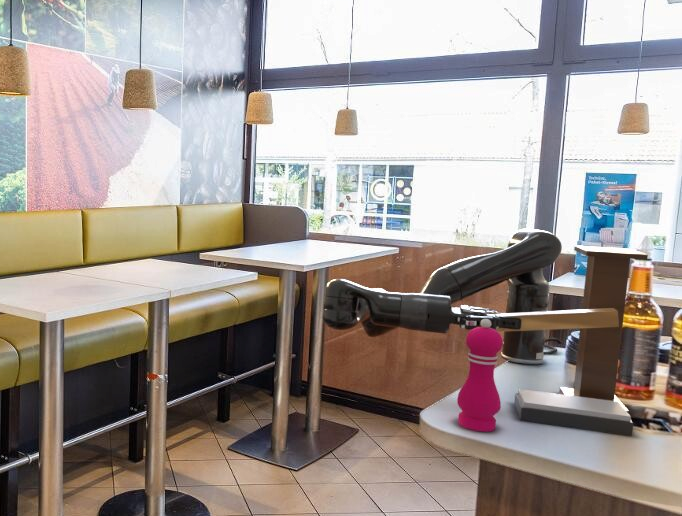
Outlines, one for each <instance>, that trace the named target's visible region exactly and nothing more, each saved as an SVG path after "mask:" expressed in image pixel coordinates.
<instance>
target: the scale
mask: <svg viewBox="0 0 682 516" xmlns="http://www.w3.org/2000/svg"><path fill="white" fill-rule="evenodd" d="M513 403H514V404H513V405H514V408H515V410H516V413H517V415H518V418H519V420H520V421H522V422H523V421H524V422H530V423H536V424H544V425H550V426H556V427H557V426H558V427H564V428H573V429H579V430H585V431H593V432H600V433H607V434H614V435H621V436H629V437H633V432H634V421H633V420H632V416H631V415H630V413H629V414H628V413H627V411H626V410H625V409H624V408H623V407H622V406H621V405H620V403H619V402H618V401H610V400H602V399H594V398H586V397H578V396H570V395H563V394H559V393H554V392H547V391H538V390H531V389H523V388H518V390H517V392H515V393H514V402H513Z"/></svg>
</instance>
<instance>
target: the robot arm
mask: <svg viewBox="0 0 682 516" xmlns="http://www.w3.org/2000/svg"><path fill="white" fill-rule="evenodd" d="M562 248H563V245H562V241H561V240H560V239H559V238H558V237H557V236H556V235H555V234H553V233H551V232H549V231H546V230H540V229H533V228H522V229H519V230H517V231H515V232H514V233H513V234H512V235H511V236H510V238H509V241H508V243H507V248H505V249H502V250H499V251H496V252H492V253H487V254H481V255H475V256H470V257H467V258H463V259H462V258H461V259H459V260H457V261H453V262H451V263H450V264H447V265H444V266H443V267H440V268H438V269H436V270H435V271H433V273H431V275H430V276H429V278H427V280H426V282H425V283H424V285H423V286H422V288H421V290H420V292H419V293H415V292H409V293H408V292H407V293H405V292H403V293H402V292H394V291H393V292H392V291H391V292H390V291H386V290H385V289H383V288H379V287H377V288H369V287H366V286H363V285H360V284H358V283H355V282H353V281H350V280H347V279H344V278H335V279H332V280H330V281H328V282H327V283H326V285H325V288H324V299H323V309H322V320H323V323H324V324H325V325H326V326H327V327H328V328H330V329H333V330H337V331H345V330H350V329H352V328H355V327H356V326H357V325H358V324H361V326H362V328H363V330H364V332H365V334H366V335H367V337H369V338H379V337H382V336H384V335H387V334H388V333H390V332H393V331H395V330H397V329H399V328H400V329H405V330H409V331H417V332H425V333H435V334H448V333H449V331H450V325H451V324H453V325H457V326H459V328H460V329H465V330H467V331H471V330H472V329H474V328H476V327H482V326H481V321H482V320H483V319H489V320H490V321H491V326H490V328H492V329H494V330H496V329H498V328H507V329H517V330H519V329H520V328H521V322H522V320H521V319H520V318H517V317H506V316H498V315H491V314H502V313H503V312H498V311H496V310H494V309H492V308H484V307H479V306H471V305H467V304H464V305H462V304H461V305H460V306H459V307H453V306H452V305H453V304H455V303H459V302H461V301H463V300H467V299H468V298H470V297H473V296H475V295H477V294H479V293H481V292H483V291H486V290H488V289H490V288H493V287H496V286H498V285H499V284H502V283H504V282H506V283H507V294H506V295H507V296H506V308H505V313H522V312H542V311H549V299H550V291H551V290H550V289H551V285H550V284H549V282H548V281H547V280H546V278H545V277H544V274H543V269H545V268H547V267H549V266H551V265H553V264H554V263H555V262H556V261H557V260H558V259H559V258H560V256H561V254H562V250H563V249H562ZM546 331H547V330H528V331H503V336H502V340H503V345H502V348H501V354H500V356H501V359H503V360H506V361H509V362H510V363H516V364H521V365H522V364H523V365H541V364H543V362H544V356H545V355H553V354H556V353H557V352H558V349H557V347H555V346H552V345H549V344H546V343H548V342H556V343H557V344H559V345H562V341H561V340H560V339H558V338H555V337H550V338H549V337H548V338H546ZM544 349H549V351H544Z"/></svg>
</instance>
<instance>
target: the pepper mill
mask: <svg viewBox="0 0 682 516" xmlns="http://www.w3.org/2000/svg"><path fill="white" fill-rule="evenodd" d="M481 326H482V327H476V328H474V329H472V330H469V332H467V335H466V341H465V343H466V346H467V348H468V349H469V351H468V352H467V355H468V356H467V360H468V361H469V371H468V375H467V378H466V380H465V382H464V383H463V384H462V386H461V388H460V389H459V392H458V394H457V398H456V403H457V406H458V408H459V409H460V410H461V411H460V412H459V413H458V418H457V419H458V420H457V423H458V424H459V425H460V426H461V427H463V428H465V429H467V430H471V431H476V432H482V433H483V432H485V433H486V432H493V431H495V430H496V427H497V426H496V425H497V419H496V417H495V416H496V415H497V414H498V413H499V412H500V410H501V397H500V394H499V391H498V388H497V385H496V382H495V377H494V373H495V366H496V365H497V364H498V363H499V361H498V360H499V355H498V353H499V352H500V351H502V347H503V336H502V335H501V333H500V332H498V331H496V330H494V329H492V328H490V326H491V321H490V320H489V319H483V320H482V321H481Z"/></svg>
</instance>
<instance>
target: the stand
mask: <svg viewBox="0 0 682 516" xmlns="http://www.w3.org/2000/svg"><path fill="white" fill-rule="evenodd" d="M573 251H575V252H577V253H579V254H581V255H584V256H586V257H587V260H586V268H585V278H584V279H585V280H584V288H583V296H582V304H581V305H582V306H581V310H583V309H603V308H614V309H616V310H617V311H618V321H619V327H602V328H579V334H578V343H577V354H576V362H575V371H574V379H573V381H574V382H573V388H570V387H563V386H560V387H559V389H558V390H559V391H558V394H563V395H570V396H578V397H586V398H594V399H602V400H610V401H618V402H619V403H620V405H621V406H622V407H623V408H624V409H625V410H626V411H627V413H628V414H629V415H630V410H629V409H628V408H627V407H626V406H625V404H623V402H622V401H621V400H620V399H619V397H617V395H616V389H617V388H616V386H617V379H618V370H619V361H620V354H621V353H620V351H621V342H622V335H623V325H624V318H625V310H626V309H625V307H626V299H627V290H628V281H629V275H630V274H629V272H630V265H631V260H644V261H647V260H648V257H649V254H647V253H643V252H641V251H637V250H635V249H632V248H623V247H622V248H621V247H608V246H607V247H605V246H589V245H574V247H573Z"/></svg>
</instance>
